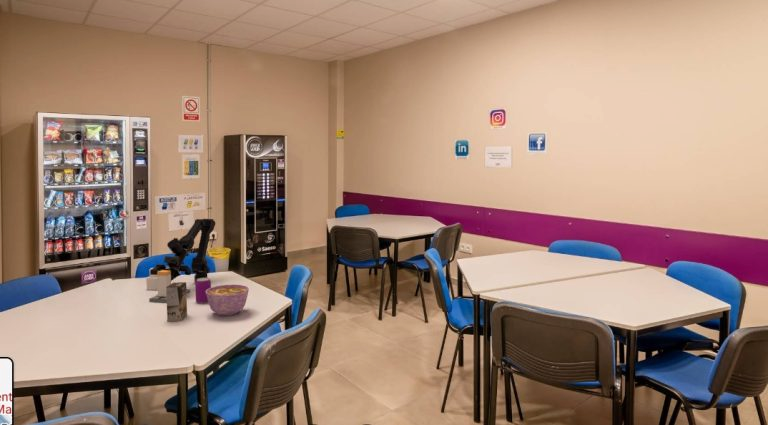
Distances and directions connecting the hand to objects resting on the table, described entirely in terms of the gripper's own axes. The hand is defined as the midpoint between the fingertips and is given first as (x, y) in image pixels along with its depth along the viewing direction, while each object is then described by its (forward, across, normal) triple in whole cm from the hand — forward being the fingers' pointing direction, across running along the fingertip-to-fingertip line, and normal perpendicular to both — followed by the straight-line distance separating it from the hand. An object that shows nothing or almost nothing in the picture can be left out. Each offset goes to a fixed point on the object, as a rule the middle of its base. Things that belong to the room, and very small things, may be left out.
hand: (167, 283), depth 258 cm
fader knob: (+6, 0, +3) cm, 7 cm away
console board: (+4, 0, +8) cm, 9 cm away
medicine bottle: (-5, -18, +17) cm, 25 cm away
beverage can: (+7, +22, +5) cm, 24 cm away
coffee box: (+26, +24, -14) cm, 38 cm away
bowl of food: (+17, +43, -5) cm, 47 cm away
